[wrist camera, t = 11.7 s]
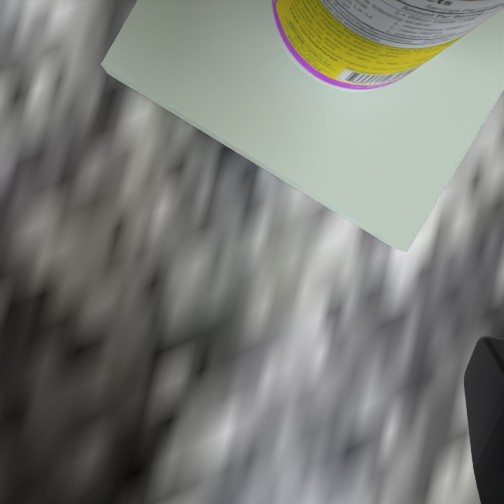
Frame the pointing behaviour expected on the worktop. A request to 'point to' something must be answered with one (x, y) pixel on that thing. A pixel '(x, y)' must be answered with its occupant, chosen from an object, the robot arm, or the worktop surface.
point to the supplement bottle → (372, 36)
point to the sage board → (315, 107)
